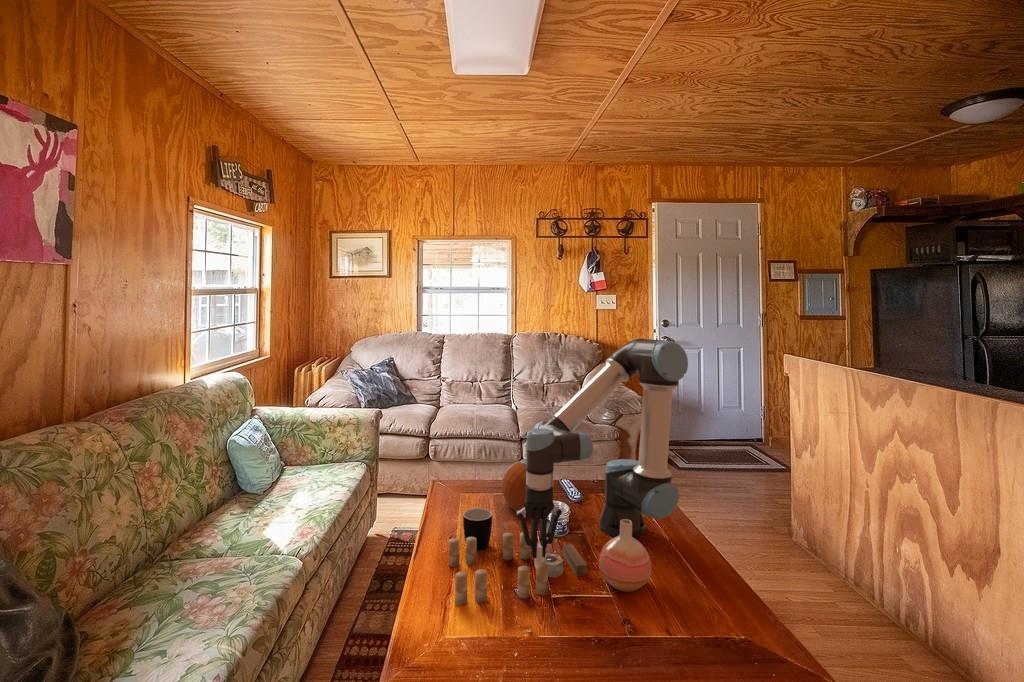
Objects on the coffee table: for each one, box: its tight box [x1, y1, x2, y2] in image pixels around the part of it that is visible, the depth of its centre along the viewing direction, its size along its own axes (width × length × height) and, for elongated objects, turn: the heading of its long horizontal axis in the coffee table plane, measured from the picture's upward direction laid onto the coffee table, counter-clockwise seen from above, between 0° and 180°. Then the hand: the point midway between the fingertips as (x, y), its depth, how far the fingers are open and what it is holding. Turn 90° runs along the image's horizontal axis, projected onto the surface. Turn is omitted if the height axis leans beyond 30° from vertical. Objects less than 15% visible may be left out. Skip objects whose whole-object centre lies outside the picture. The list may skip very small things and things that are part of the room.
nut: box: [542, 552, 564, 579], centre depth 135 cm, size 6×7×4 cm
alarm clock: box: [501, 458, 554, 514], centre depth 179 cm, size 19×18×17 cm
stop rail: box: [561, 543, 588, 577], centre depth 138 cm, size 3×12×3 cm, turn 13°
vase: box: [598, 519, 652, 593], centre depth 128 cm, size 14×14×18 cm
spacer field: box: [448, 531, 549, 606], centre depth 131 cm, size 24×22×7 cm
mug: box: [462, 507, 493, 552], centre depth 150 cm, size 12×9×10 cm
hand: (538, 567), depth 134 cm, fingers closed
